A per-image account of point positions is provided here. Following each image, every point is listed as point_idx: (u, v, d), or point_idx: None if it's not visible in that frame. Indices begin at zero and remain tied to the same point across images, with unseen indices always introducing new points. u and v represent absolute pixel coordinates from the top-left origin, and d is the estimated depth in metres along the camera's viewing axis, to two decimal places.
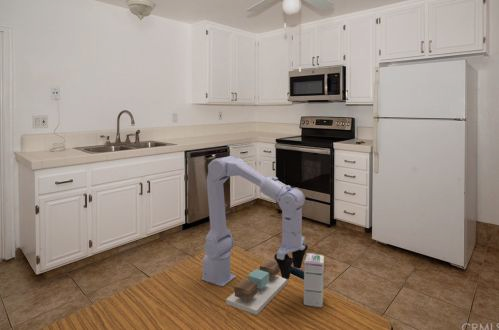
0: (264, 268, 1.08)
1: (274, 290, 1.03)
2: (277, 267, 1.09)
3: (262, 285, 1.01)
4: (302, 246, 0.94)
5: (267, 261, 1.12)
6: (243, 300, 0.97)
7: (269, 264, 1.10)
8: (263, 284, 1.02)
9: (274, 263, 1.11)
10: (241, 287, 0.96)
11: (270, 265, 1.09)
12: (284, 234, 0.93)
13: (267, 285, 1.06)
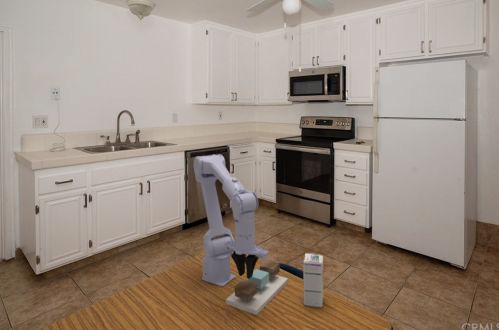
0: (264, 268, 1.08)
1: (274, 290, 1.03)
2: (277, 267, 1.09)
3: (262, 285, 1.01)
4: (239, 251, 0.92)
5: (267, 261, 1.12)
6: (243, 300, 0.97)
7: (269, 264, 1.10)
8: (263, 284, 1.02)
9: (274, 263, 1.11)
10: (241, 287, 0.96)
11: (270, 265, 1.09)
12: None
13: (267, 285, 1.06)
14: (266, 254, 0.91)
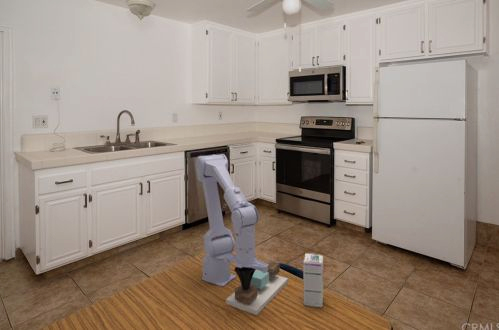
0: None
1: (274, 290, 1.03)
2: (277, 267, 1.09)
3: (262, 285, 1.01)
4: (239, 264, 0.93)
5: (267, 261, 1.12)
6: None
7: (269, 264, 1.10)
8: (263, 284, 1.02)
9: (274, 263, 1.11)
10: (241, 290, 0.96)
11: (270, 265, 1.09)
12: None
13: (267, 285, 1.06)
14: (266, 267, 0.92)
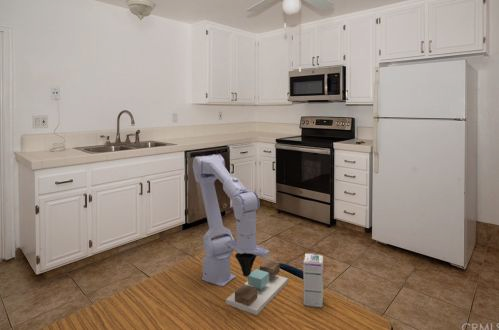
0: (264, 268, 1.08)
1: (274, 290, 1.03)
2: (277, 267, 1.09)
3: (262, 285, 1.01)
4: (240, 250, 0.93)
5: (267, 261, 1.12)
6: None
7: (269, 264, 1.10)
8: (263, 284, 1.02)
9: (274, 263, 1.11)
10: (241, 292, 0.96)
11: (270, 265, 1.09)
12: None
13: (267, 285, 1.06)
14: (267, 253, 0.92)
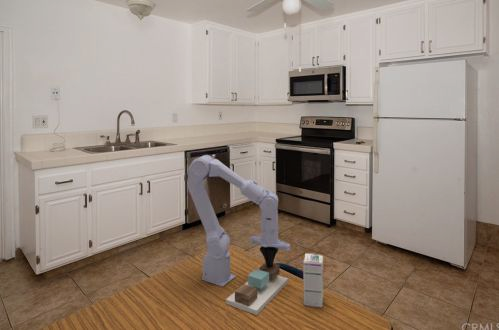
0: (264, 270, 1.08)
1: (274, 290, 1.03)
2: (277, 269, 1.10)
3: (262, 285, 1.01)
4: (264, 244, 1.05)
5: None
6: None
7: None
8: (263, 284, 1.02)
9: (274, 265, 1.11)
10: (241, 292, 0.96)
11: None
12: None
13: (267, 285, 1.06)
14: (288, 247, 1.05)
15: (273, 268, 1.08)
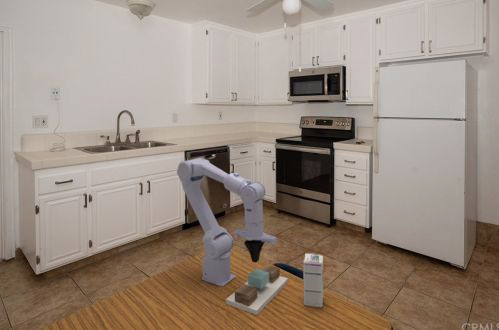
0: None
1: (274, 290, 1.03)
2: (277, 272, 1.10)
3: (262, 285, 1.01)
4: (249, 237, 1.00)
5: (267, 265, 1.12)
6: None
7: (269, 269, 1.10)
8: (263, 284, 1.02)
9: (274, 267, 1.11)
10: (241, 292, 0.96)
11: (270, 269, 1.10)
12: None
13: (267, 285, 1.06)
14: (274, 239, 0.99)
15: (273, 271, 1.08)
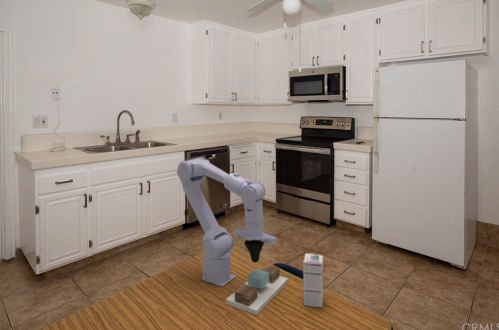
0: None
1: (274, 290, 1.03)
2: (277, 272, 1.10)
3: (262, 285, 1.01)
4: (249, 237, 1.00)
5: (267, 265, 1.12)
6: None
7: (269, 269, 1.10)
8: (263, 284, 1.02)
9: (274, 267, 1.11)
10: (241, 292, 0.96)
11: (270, 269, 1.10)
12: None
13: (267, 285, 1.06)
14: (274, 239, 0.99)
15: (273, 271, 1.08)
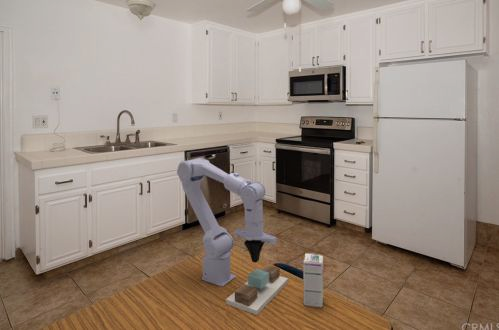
0: None
1: (274, 290, 1.03)
2: (277, 272, 1.10)
3: (262, 285, 1.01)
4: (249, 237, 1.00)
5: (267, 265, 1.12)
6: None
7: (269, 269, 1.10)
8: (263, 284, 1.02)
9: (274, 267, 1.11)
10: (241, 292, 0.96)
11: (270, 269, 1.10)
12: None
13: (267, 285, 1.06)
14: (274, 239, 0.99)
15: (273, 271, 1.08)
